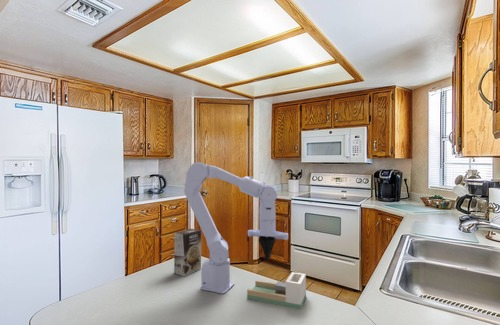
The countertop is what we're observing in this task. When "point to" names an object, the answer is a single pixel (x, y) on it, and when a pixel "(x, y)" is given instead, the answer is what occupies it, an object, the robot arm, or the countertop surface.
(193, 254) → the coffee box
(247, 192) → the robot arm
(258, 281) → the pitch
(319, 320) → the countertop surface
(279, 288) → the block
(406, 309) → the countertop surface
